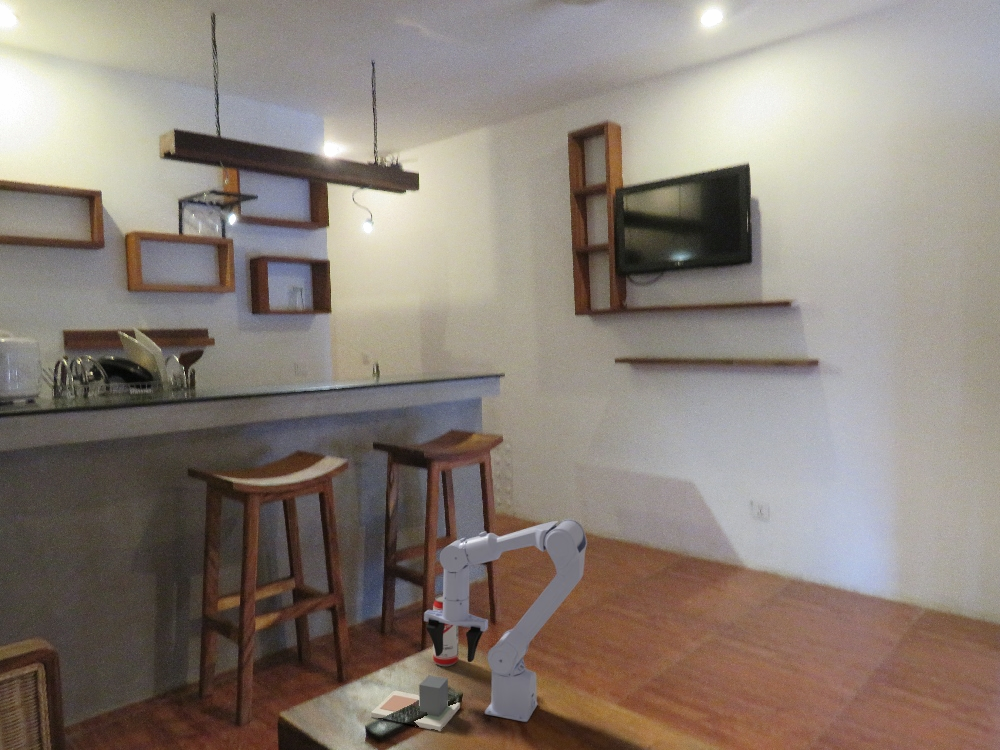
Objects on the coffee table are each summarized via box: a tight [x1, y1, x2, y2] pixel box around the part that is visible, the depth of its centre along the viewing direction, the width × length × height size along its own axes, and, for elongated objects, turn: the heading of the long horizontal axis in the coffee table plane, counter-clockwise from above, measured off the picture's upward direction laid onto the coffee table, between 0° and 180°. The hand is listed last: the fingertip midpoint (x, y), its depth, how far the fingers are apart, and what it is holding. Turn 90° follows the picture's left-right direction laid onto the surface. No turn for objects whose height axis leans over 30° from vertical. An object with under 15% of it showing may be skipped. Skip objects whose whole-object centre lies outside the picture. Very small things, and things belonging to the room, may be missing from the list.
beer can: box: [432, 594, 459, 667], centre depth 171 cm, size 6×6×16 cm
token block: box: [418, 674, 449, 717], centre depth 146 cm, size 4×4×6 cm
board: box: [370, 690, 461, 732], centre depth 147 cm, size 16×10×1 cm, turn 70°
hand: (455, 657), depth 153 cm, fingers open, 7 cm apart
